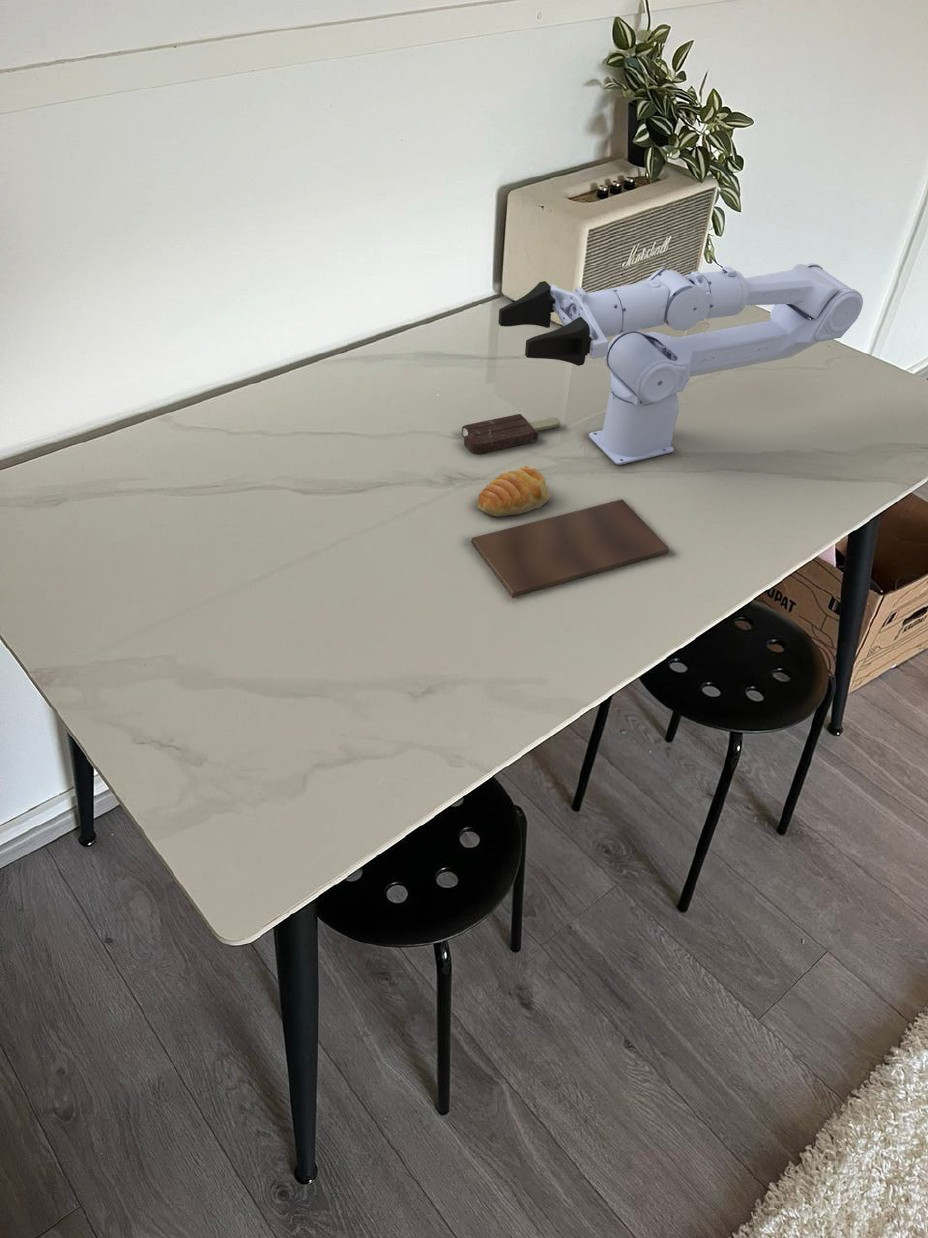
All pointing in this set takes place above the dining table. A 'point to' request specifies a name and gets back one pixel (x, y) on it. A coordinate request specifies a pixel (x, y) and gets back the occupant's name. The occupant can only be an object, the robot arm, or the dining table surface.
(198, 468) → the dining table surface
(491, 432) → the ice cream bar
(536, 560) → the walnut board
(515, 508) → the pastry
